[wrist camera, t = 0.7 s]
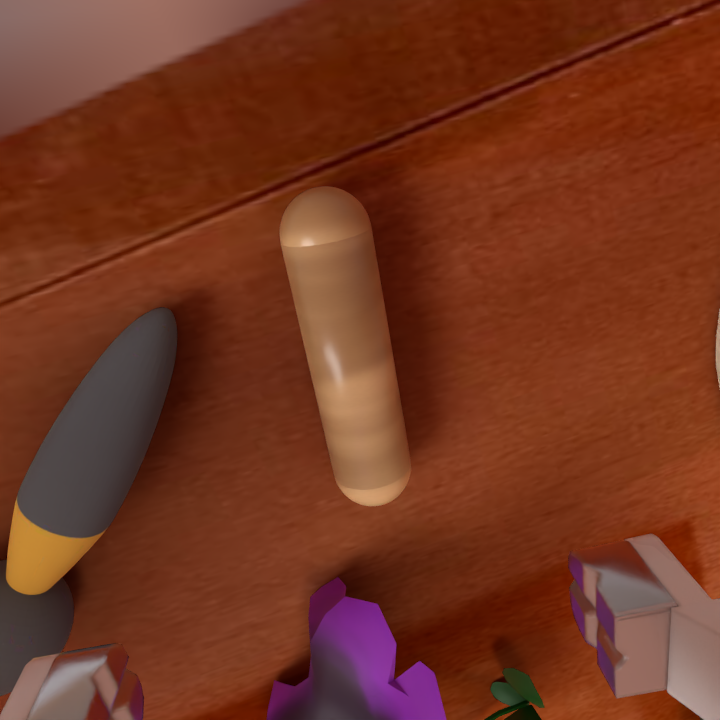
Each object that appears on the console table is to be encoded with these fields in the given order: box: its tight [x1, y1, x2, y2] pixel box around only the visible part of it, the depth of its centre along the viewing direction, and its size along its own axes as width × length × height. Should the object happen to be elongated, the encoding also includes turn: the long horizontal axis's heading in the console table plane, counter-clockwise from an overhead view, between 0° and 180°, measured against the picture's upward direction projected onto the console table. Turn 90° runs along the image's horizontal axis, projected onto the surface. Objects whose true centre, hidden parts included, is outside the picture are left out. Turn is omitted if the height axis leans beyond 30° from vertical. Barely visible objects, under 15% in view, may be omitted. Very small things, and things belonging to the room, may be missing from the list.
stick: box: [279, 186, 411, 506], centre depth 22 cm, size 13×3×3 cm, turn 10°
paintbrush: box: [0, 307, 177, 696], centre depth 23 cm, size 20×5×5 cm, turn 154°
